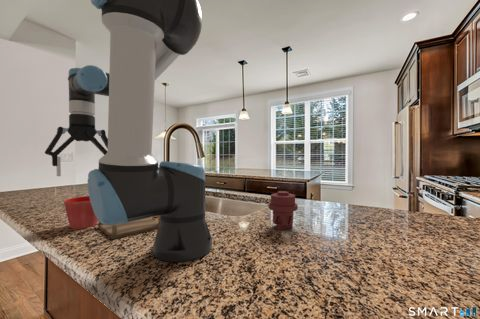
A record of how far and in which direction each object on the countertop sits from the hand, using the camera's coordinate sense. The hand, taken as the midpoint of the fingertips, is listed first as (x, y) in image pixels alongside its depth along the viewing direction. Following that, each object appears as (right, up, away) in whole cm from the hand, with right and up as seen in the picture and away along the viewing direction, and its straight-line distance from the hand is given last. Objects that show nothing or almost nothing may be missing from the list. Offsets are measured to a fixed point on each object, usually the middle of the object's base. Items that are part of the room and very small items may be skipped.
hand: (83, 174), depth 79 cm
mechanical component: (+71, -18, -1) cm, 73 cm away
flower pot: (0, -18, 0) cm, 18 cm away
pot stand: (+18, -18, -2) cm, 25 cm away
